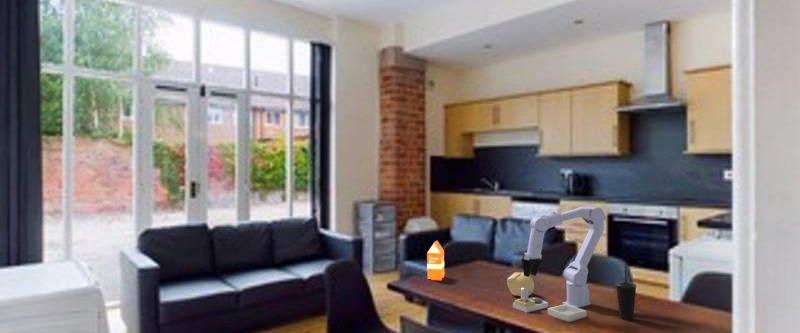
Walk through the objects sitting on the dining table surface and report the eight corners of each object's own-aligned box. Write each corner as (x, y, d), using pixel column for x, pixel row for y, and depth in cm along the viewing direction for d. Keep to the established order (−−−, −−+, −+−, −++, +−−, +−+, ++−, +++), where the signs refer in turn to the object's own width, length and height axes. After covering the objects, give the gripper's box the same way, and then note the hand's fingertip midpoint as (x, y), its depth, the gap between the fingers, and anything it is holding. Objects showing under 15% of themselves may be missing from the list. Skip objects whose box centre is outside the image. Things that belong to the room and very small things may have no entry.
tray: (565, 310, 198) (565, 304, 198) (586, 317, 189) (586, 310, 189) (547, 314, 193) (547, 308, 193) (568, 322, 184) (568, 315, 184)
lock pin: (524, 302, 203) (524, 286, 203) (530, 304, 201) (529, 288, 201) (519, 303, 202) (519, 287, 202) (524, 305, 199) (524, 289, 199)
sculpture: (514, 290, 230) (514, 268, 230) (537, 294, 223) (537, 271, 222) (503, 295, 221) (503, 272, 221) (527, 300, 214) (527, 276, 214)
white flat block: (534, 302, 210) (534, 294, 210) (548, 307, 203) (548, 298, 203) (513, 307, 203) (512, 299, 203) (526, 312, 196) (526, 304, 196)
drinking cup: (630, 315, 191) (630, 266, 190) (641, 321, 183) (640, 270, 183) (612, 315, 190) (611, 266, 190) (621, 322, 183) (621, 271, 182)
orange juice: (427, 279, 254) (426, 242, 253) (431, 275, 262) (430, 240, 262) (441, 280, 251) (440, 243, 251) (444, 276, 260) (444, 240, 260)
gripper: (533, 242, 211) (527, 272, 210) (519, 242, 199) (514, 274, 199) (548, 246, 206) (542, 276, 206) (535, 246, 195) (529, 278, 195)
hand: (529, 275), depth 202 cm, fingers open, 7 cm apart
